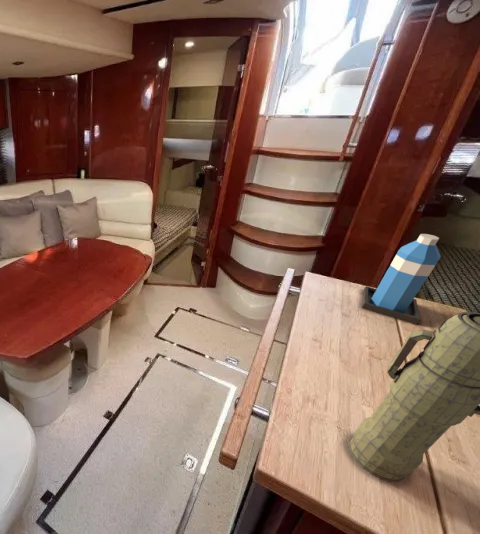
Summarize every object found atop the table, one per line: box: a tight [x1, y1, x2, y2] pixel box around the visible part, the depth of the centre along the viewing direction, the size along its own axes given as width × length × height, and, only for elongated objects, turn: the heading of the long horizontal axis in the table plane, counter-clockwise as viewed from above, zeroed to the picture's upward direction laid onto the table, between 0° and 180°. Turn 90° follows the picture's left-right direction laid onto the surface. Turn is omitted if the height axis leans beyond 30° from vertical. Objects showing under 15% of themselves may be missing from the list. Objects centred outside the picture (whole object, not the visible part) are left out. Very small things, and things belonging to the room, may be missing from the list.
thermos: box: [347, 311, 480, 483], centre depth 52 cm, size 9×12×35 cm
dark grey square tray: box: [361, 285, 421, 325], centre depth 101 cm, size 13×13×2 cm
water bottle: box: [370, 233, 442, 313], centre depth 95 cm, size 9×9×25 cm
